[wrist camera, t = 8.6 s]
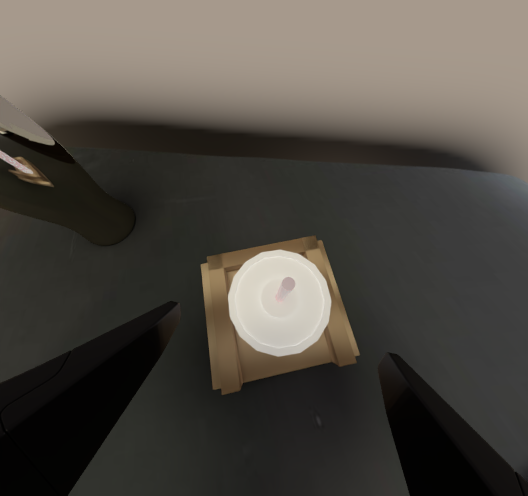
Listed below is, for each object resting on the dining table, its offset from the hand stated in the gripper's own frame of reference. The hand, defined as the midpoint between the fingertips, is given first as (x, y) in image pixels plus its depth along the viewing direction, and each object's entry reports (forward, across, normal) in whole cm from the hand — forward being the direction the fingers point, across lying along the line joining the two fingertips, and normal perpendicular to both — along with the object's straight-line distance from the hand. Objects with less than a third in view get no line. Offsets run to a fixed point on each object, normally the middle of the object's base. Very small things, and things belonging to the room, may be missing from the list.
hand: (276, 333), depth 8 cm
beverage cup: (+10, 0, +7) cm, 12 cm away
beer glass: (+14, +22, +4) cm, 27 cm away
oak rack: (+10, 0, +8) cm, 13 cm away
